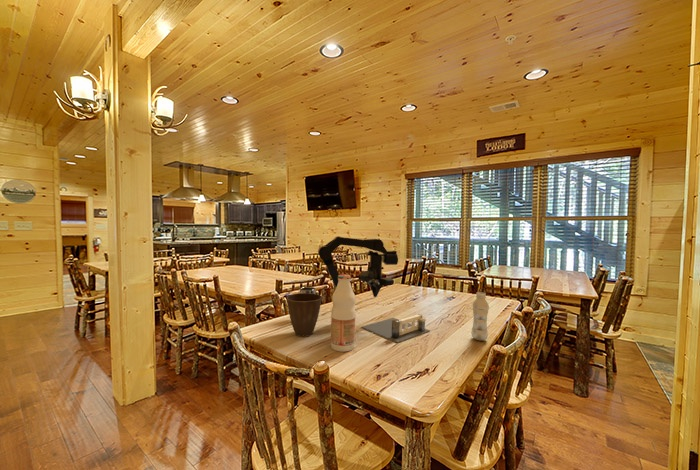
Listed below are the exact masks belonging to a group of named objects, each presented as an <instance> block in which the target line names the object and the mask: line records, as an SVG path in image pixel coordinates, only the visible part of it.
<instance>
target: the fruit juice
mask: <svg viewBox="0 0 700 470" xmlns="http://www.w3.org/2000/svg"><path fill="white" fill-rule="evenodd" d="M338 280H339V282H338V284H337V287H336V288H335V290H334V292H333V294H332V296H331V302H332V308H331V312H330V318H331V319H330V347H331V349H332V350H334V351H336V352H341V353H342V352H350V351H352V350H354V349H355V346H356V316H357V315H356V308H355V304H356V294H355V293H354V290H353V288H352V284H351V275H350V274H338Z"/></svg>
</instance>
